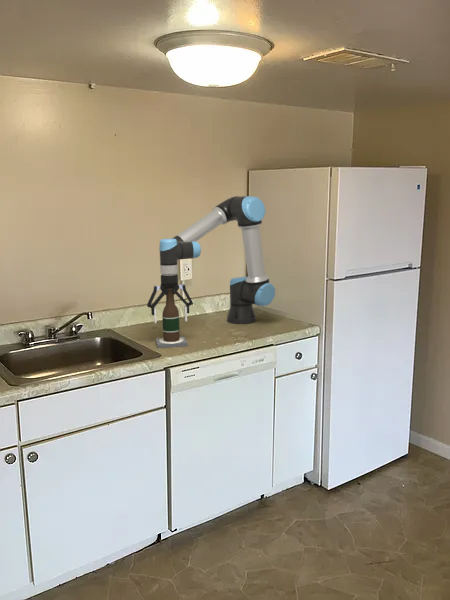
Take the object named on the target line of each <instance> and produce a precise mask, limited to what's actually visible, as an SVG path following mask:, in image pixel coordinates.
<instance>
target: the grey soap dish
mask: <svg viewBox="0 0 450 600" xmlns="http://www.w3.org/2000/svg"><path fill="white" fill-rule="evenodd" d="M155 343H156V347H157V348H158V349H163V348H177V347H188V341H187V340H186V337H185V336H180V338H179V341H176V342H166V341H164V340H163V337H156V338H155Z"/></svg>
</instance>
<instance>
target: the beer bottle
mask: <svg viewBox="0 0 450 600" xmlns="http://www.w3.org/2000/svg"><path fill="white" fill-rule="evenodd" d="M168 289H169V290H168V295H167V296H166V295H165V296H166V298H165V306H164V308H163V309H162V320H161V321H162V338H163V340H164V341H166V342H176V341H179V338H180V337H181V336H180V335H181V334H180V312H179V309H178V307H177V306H176V303H175V295H173V292H172V288H168Z"/></svg>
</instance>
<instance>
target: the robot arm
mask: <svg viewBox="0 0 450 600" xmlns="http://www.w3.org/2000/svg"><path fill="white" fill-rule="evenodd" d="M265 215H266V206H265V203H264V202H263V201H262V200H261V199H260V198H259V197H257V196H251V195H247V196H246V195H242V196H238V195H237V196H232V197H229V198H227V199H225V200H223V201H222V202H221V203H219V204H218V205H216V206H214V207H213V208H212V211H211V212H209V213H207V215H205V216H203V217H202V218H200V219H199V220H197V221H195V222H194V223H193V224H191V225H190V226H187V228H185V229H184V230H182V231H181V232H180V233H177V234H176V235H175V236H174V237H172V238H162V239H160V240H159V249H158V250H159V263H160V264H159V265H160V267H159V269H160V272H159V273H160V285H153V290H152V293H151V295H150V297H149V300H148V301H147V304H146V306H147V307H148V308H150V311H151V314H150V315H152V316H153V321H154V324H157V308H156V306H157V305H158V303H159V302H160V301H161V300H162V299H163V298H164V296H167V295H168V290H169V289H168V288H172V292H173V295H174V296H175V295H176V296H177V297H178V298H179V299H180V300H181V301H182V303H183V304H185V305H183V306H184V309H183V310H184V313H183V314H184V321H185V322H188V314H190V307H191V306H193V305H194V301H193V300H192V299H191V297H190V294H189V293H188V291H187V290H186V285H185V284H184V283H182V284H179V275H178V271H179V270H178V260H179V261H180V260H188V259H197V258H199V257H200V255H201V253H202V247H201V244H200V243H199V242H198V241H199V240H200V239H202V238H203V237H205V236H206V235H207V234H209V233H210V232H212V231H214V230H215V229H216V228H218V227H219V226H223V225H226V224H227V223H230V222H234V221H237V227H238V228H239V229H241V235H242V243H243V249H244V250H243V251H244V258H245V263H246V270H247V271H246V272H247V276H239V277H232V278H230V280H229V305H230V306H229V310H228V313H227V315H226V322H228V323H231V324H237V325H239V324H241V325H244V324H251V323H255V322H256V321H257V315H256V312H255V309H254V307H253V305H255V306H258V307H259V306H261V307H266V306H268V305H270V304H271V303H272V302H273V300H274V299H275V296H276V288H275V286H274V285H273V284H272V283H270V277H269V276H268V275H267V274H266V271H265V270H266V269H265V261H264V252H263V247H262V239H261V230H260V226H261V225H262V223H263V221H262V220H263V219H264V218H265ZM179 289H180V290H181V291H183V293H184V295H185V297H186V299H187V300H188V301H187V300H186V299H185V298H184V297H183V296H182V295H181V294H180V293H179V292H178V291H179ZM159 290H160V294H159V295H158V296H157V298H156V299H155V300H154V298H155V296H156V294H157V292H159ZM153 300H154V302H153Z"/></svg>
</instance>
